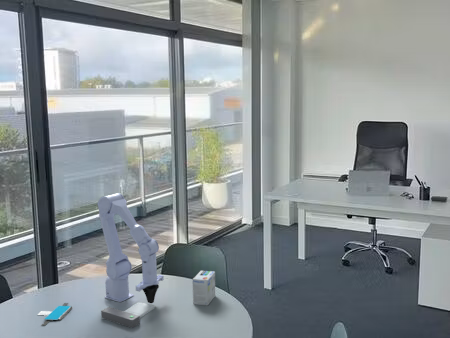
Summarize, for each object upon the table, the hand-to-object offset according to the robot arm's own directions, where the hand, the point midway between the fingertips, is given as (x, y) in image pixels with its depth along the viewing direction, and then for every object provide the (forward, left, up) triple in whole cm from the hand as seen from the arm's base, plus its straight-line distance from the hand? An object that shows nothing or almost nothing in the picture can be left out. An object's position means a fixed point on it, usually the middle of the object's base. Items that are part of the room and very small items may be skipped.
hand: (150, 302), depth 191 cm
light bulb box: (+16, +15, -1) cm, 22 cm away
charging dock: (0, -17, -1) cm, 17 cm away
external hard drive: (0, -8, -2) cm, 8 cm away
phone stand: (-27, -26, -2) cm, 38 cm away
